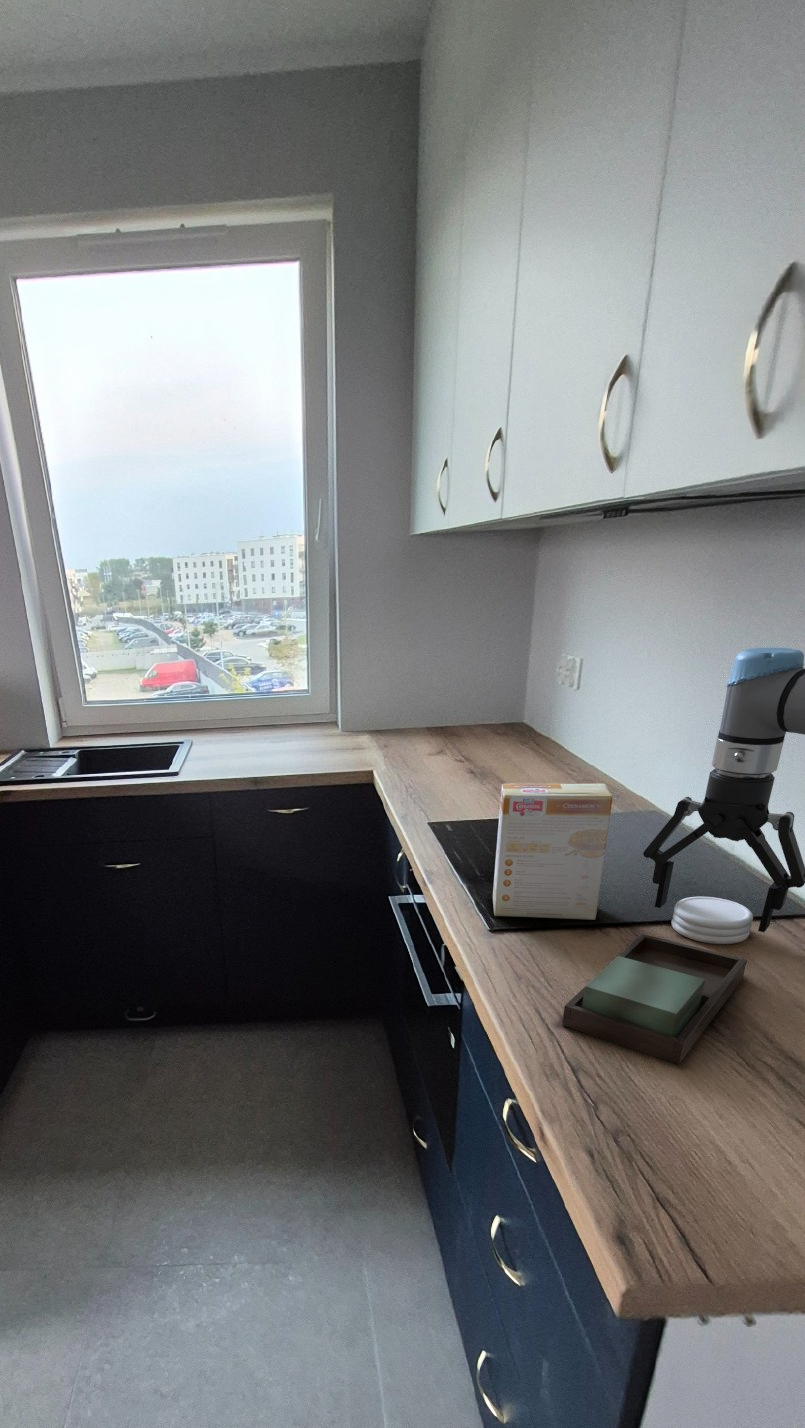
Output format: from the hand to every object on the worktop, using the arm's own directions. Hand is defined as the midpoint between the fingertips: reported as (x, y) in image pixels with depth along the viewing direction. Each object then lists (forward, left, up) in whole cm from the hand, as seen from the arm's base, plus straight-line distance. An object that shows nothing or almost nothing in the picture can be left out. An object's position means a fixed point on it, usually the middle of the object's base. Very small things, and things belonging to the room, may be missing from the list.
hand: (710, 916), depth 115 cm
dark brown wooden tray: (-1, +25, -2) cm, 25 cm away
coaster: (0, 0, -2) cm, 2 cm away
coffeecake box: (+22, +7, -2) cm, 23 cm away
